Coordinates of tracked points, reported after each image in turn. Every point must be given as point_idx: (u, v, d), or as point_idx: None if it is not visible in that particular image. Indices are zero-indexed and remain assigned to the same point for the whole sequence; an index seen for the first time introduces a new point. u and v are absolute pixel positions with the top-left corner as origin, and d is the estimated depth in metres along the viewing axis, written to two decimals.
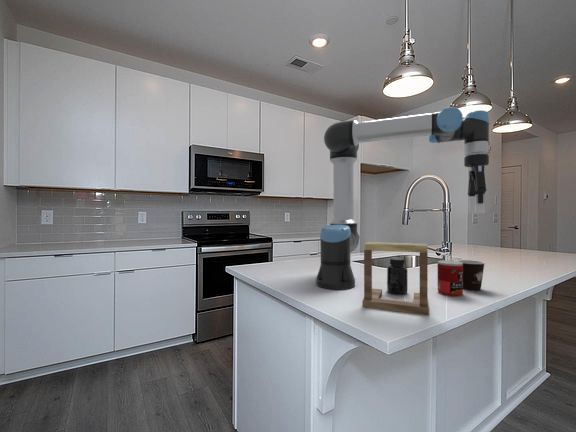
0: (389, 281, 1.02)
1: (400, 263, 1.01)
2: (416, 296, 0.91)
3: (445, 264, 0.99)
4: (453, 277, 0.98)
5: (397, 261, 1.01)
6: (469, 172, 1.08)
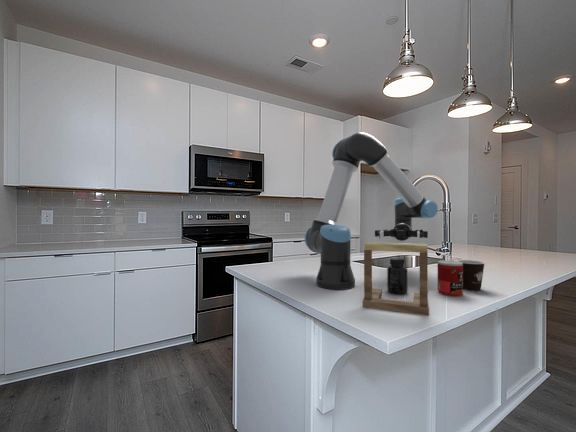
0: (389, 281, 1.02)
1: (400, 263, 1.01)
2: (416, 296, 0.91)
3: (445, 264, 0.99)
4: (453, 277, 0.98)
5: (397, 261, 1.01)
6: (398, 228, 1.26)
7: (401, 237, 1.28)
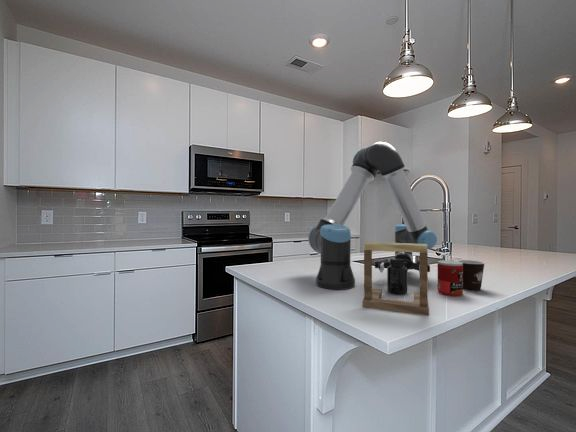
0: (389, 281, 1.02)
1: (400, 263, 1.01)
2: (416, 296, 0.91)
3: (445, 264, 0.99)
4: (453, 277, 0.98)
5: (397, 261, 1.01)
6: None
7: None
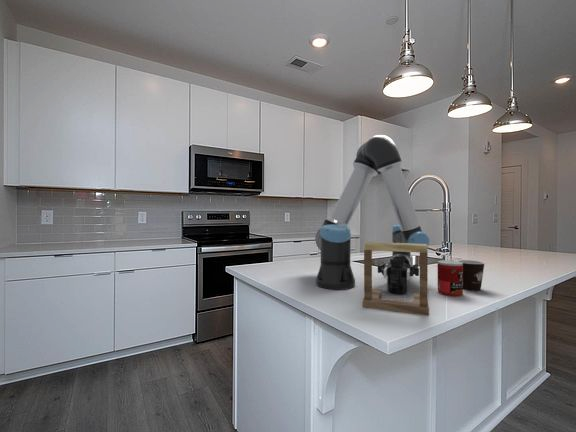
0: (389, 281, 1.02)
1: (400, 263, 1.01)
2: (416, 296, 0.91)
3: (445, 264, 0.99)
4: (453, 277, 0.98)
5: (397, 261, 1.01)
6: None
7: None
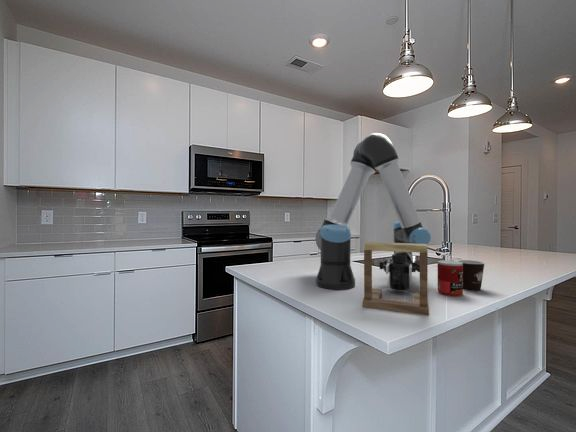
0: (391, 277, 1.02)
1: (402, 259, 1.01)
2: (416, 296, 0.91)
3: (445, 264, 0.99)
4: (453, 277, 0.98)
5: (399, 257, 1.01)
6: None
7: None
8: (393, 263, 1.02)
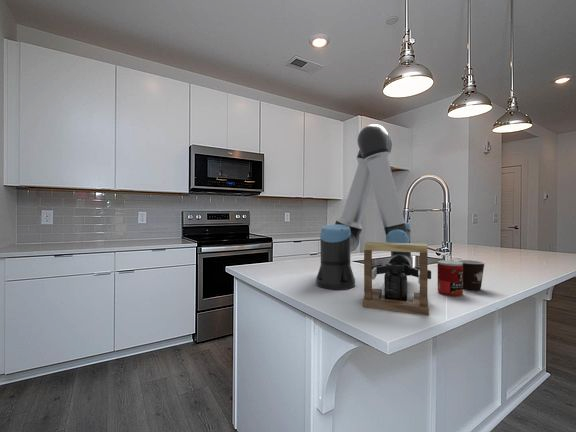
0: (386, 290, 0.91)
1: (399, 270, 0.90)
2: (416, 296, 0.91)
3: (445, 264, 0.99)
4: (453, 277, 0.98)
5: (395, 267, 0.90)
6: (394, 262, 1.03)
7: None
8: (388, 274, 0.91)
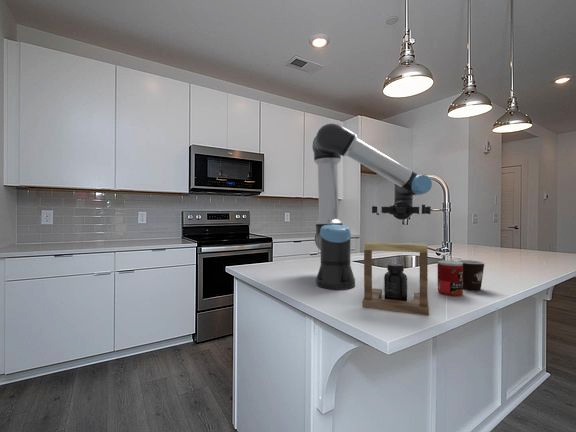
0: (386, 290, 0.91)
1: (399, 270, 0.90)
2: (416, 296, 0.91)
3: (445, 264, 0.99)
4: (453, 277, 0.98)
5: (395, 267, 0.90)
6: (397, 205, 1.15)
7: (401, 215, 1.16)
8: (388, 274, 0.91)
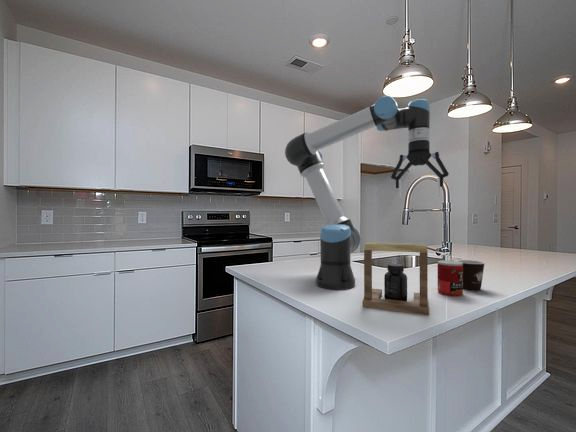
0: (386, 290, 0.91)
1: (399, 270, 0.90)
2: (416, 296, 0.91)
3: (445, 264, 0.99)
4: (453, 277, 0.98)
5: (395, 267, 0.90)
6: None
7: (418, 150, 1.11)
8: (389, 274, 0.91)
